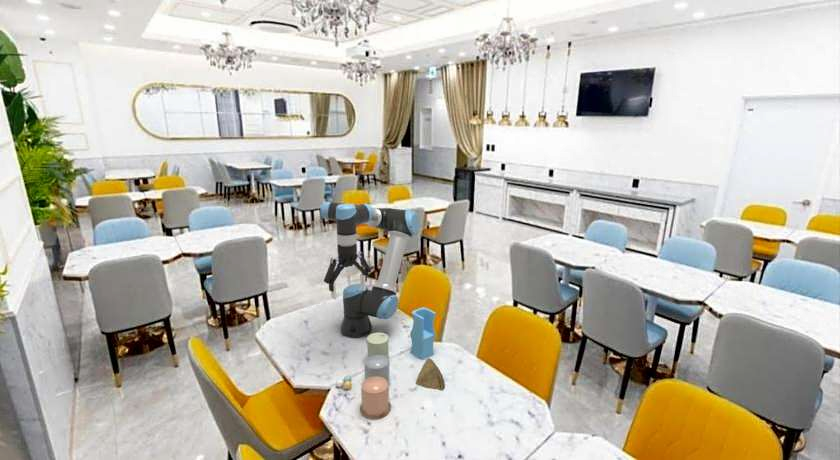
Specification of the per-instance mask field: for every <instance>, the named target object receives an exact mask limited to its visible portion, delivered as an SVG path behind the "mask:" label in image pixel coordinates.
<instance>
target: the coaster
mask: <svg viewBox="0 0 840 460" xmlns="http://www.w3.org/2000/svg"><path fill="white" fill-rule="evenodd" d="M391 410H392V405H391V402H390V401H389V405H388V409H387V412H385V413H383V414H381V415H379V416H369V415H367V414H366V413H365V412H364V411H363V410H362V403H361V404H360V406H359V412H360V414H361V415H362V417H364V418H366V419H368V420H380V419H384V418H385V417H387V416H388V414H390V412H391Z"/></svg>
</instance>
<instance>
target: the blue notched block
mask: <svg viewBox="0 0 840 460" xmlns="http://www.w3.org/2000/svg"><path fill="white" fill-rule="evenodd" d="M411 313H412V321H413V322H412V327H411V330H410V332H409V335H410V340H411V349H410V351H409V353H410V354H412V356H414V357H416V358H418V359H419V360H421V361H422V360H423V361H424V360H427V359H428V358H431V357H432V356H433V355H434V354H435V353H434V341H435V339H436V334H437V333H436V332H435V328H434V320H435V317H436V312H435V311H433V310H431V309H430V308H427V307H426V306H425V307H419V308H417V309H414V310H413V311H412V312H411Z"/></svg>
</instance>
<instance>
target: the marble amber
mask: <svg viewBox="0 0 840 460" xmlns="http://www.w3.org/2000/svg"><path fill="white" fill-rule="evenodd" d="M351 388H352V381H351V382H350V381H346V382H344V384H343V389H345V390H350V389H351Z"/></svg>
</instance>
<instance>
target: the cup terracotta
mask: <svg viewBox="0 0 840 460" xmlns="http://www.w3.org/2000/svg"><path fill="white" fill-rule="evenodd" d="M389 386H390V385H389V383H388V382H387V380H386V379H385V378H383V377H379V376H374V377H369V378H367V379H365V378H364V380H363V381H362V383H361V390H360V391H361V393H360V394H361V395H360V396H361V404H362V410H363V411H364V412H365V413H366V414H367V415H369V416H379V415H381V414H383V413H385V412H387V409H388V405H389V402H390V401H389V400H390V398H389V397H390V396H389V394H390V393H389V392H390V391H389V390H390V388H389Z"/></svg>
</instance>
